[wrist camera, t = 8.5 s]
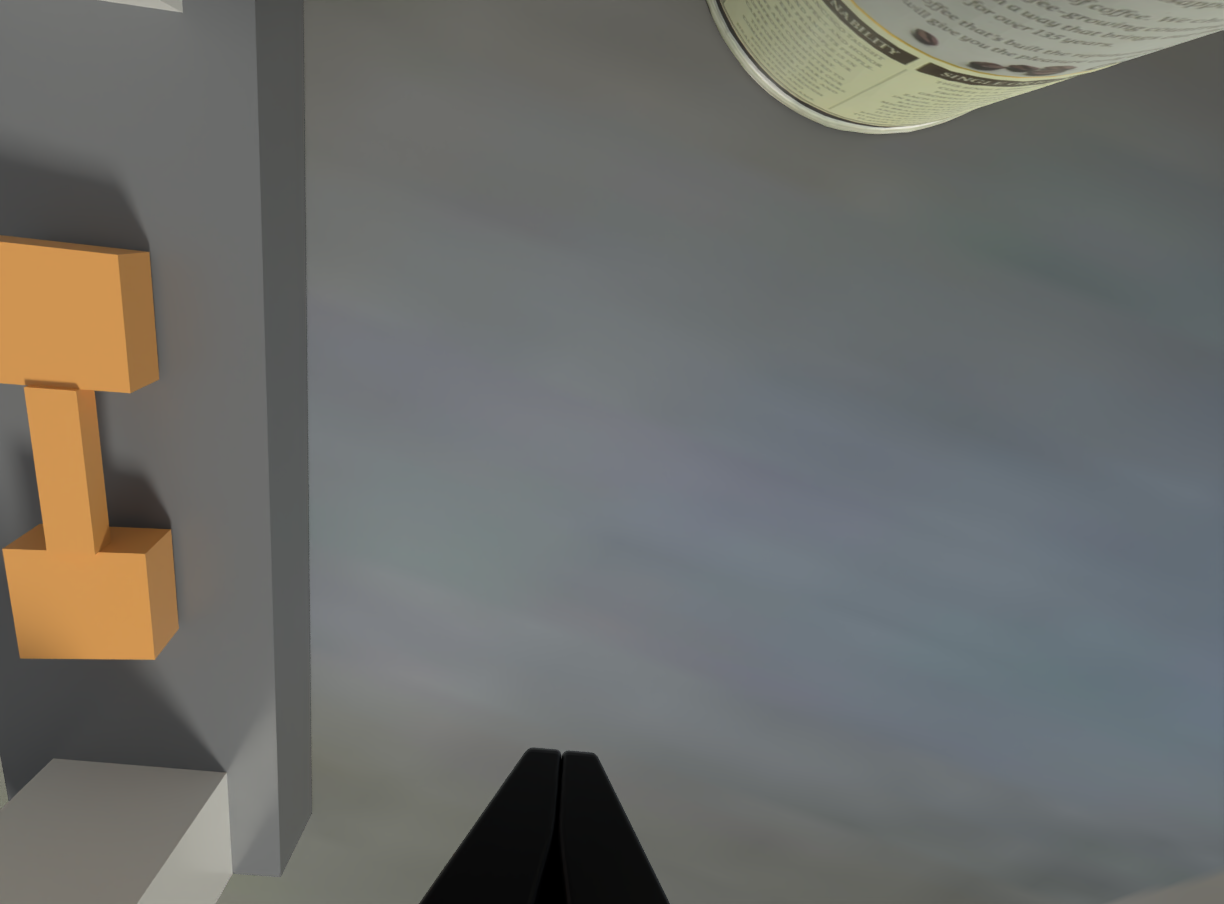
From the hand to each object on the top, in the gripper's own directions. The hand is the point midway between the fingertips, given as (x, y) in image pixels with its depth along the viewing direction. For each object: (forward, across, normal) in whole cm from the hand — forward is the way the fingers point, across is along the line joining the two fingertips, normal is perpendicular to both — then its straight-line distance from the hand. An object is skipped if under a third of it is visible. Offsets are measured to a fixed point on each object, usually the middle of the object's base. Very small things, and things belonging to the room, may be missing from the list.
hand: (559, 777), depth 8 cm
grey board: (+12, +12, 0) cm, 17 cm away
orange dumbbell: (+10, +12, 0) cm, 16 cm away
